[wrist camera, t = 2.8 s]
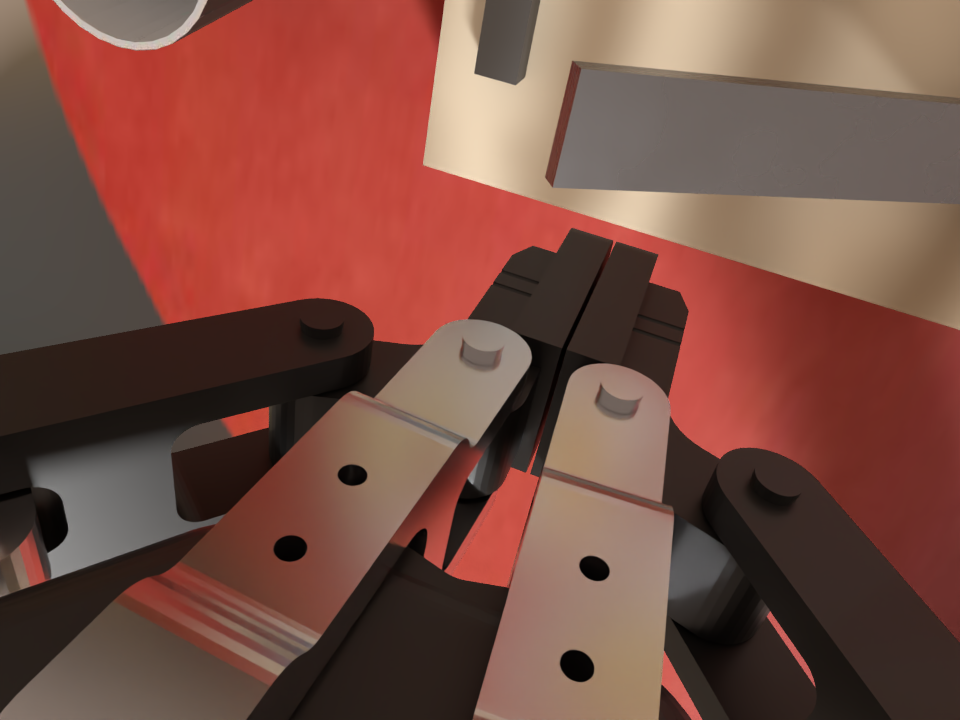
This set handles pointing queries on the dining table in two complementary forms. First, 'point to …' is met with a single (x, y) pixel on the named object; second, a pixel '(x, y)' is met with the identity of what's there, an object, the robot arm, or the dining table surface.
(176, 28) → the coffee mug
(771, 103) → the strap
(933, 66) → the tea crate
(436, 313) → the dining table surface
